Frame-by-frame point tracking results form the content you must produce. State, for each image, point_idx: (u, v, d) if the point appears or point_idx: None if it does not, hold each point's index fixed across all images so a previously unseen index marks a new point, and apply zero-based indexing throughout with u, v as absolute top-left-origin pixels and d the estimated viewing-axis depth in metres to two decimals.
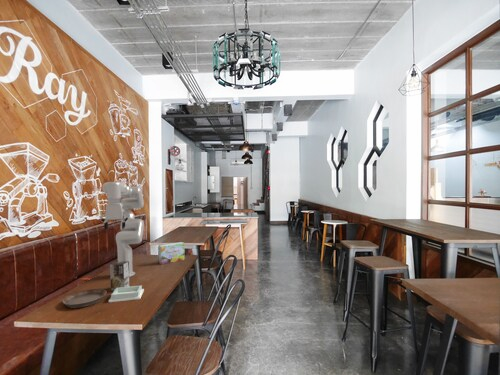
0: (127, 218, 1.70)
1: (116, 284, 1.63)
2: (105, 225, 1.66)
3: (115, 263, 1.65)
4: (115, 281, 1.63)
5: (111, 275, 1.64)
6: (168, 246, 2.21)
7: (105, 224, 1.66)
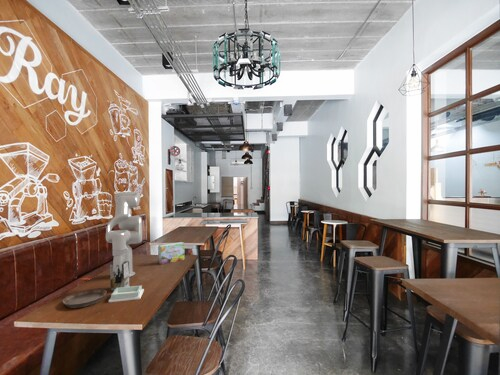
0: None
1: (116, 284, 1.63)
2: None
3: None
4: None
5: (111, 275, 1.64)
6: (168, 246, 2.21)
7: (120, 277, 1.63)
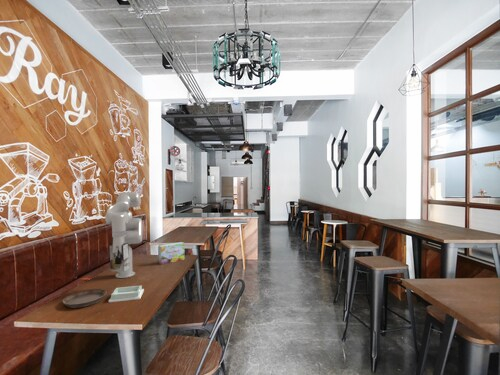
0: None
1: (116, 265, 1.64)
2: (120, 259, 1.63)
3: None
4: None
5: (111, 256, 1.64)
6: (168, 246, 2.21)
7: (120, 258, 1.63)
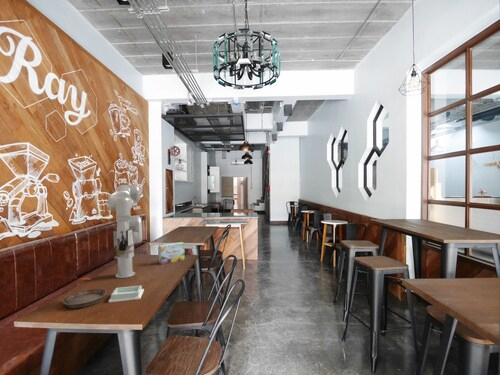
0: None
1: (120, 251, 1.54)
2: None
3: None
4: None
5: (115, 242, 1.55)
6: (168, 246, 2.21)
7: None
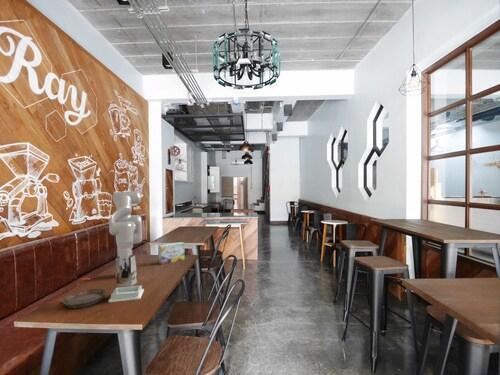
0: None
1: (123, 279, 1.51)
2: None
3: None
4: None
5: (117, 269, 1.51)
6: (168, 246, 2.21)
7: (127, 272, 1.50)
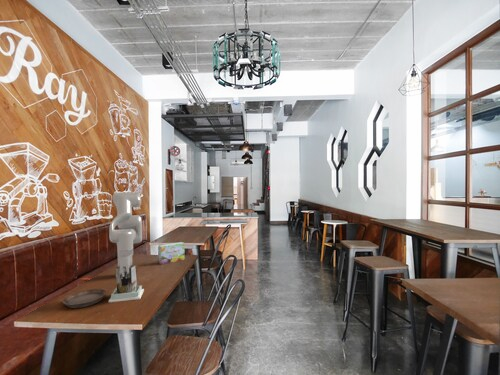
0: None
1: (123, 289, 1.51)
2: (127, 280, 1.50)
3: None
4: (122, 286, 1.51)
5: (117, 280, 1.52)
6: (168, 246, 2.21)
7: (127, 279, 1.50)
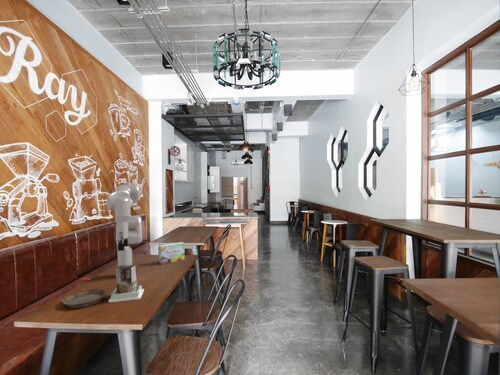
0: None
1: (123, 289, 1.51)
2: (124, 245, 1.52)
3: (122, 267, 1.53)
4: (122, 286, 1.51)
5: (117, 280, 1.52)
6: (168, 246, 2.21)
7: (123, 244, 1.52)
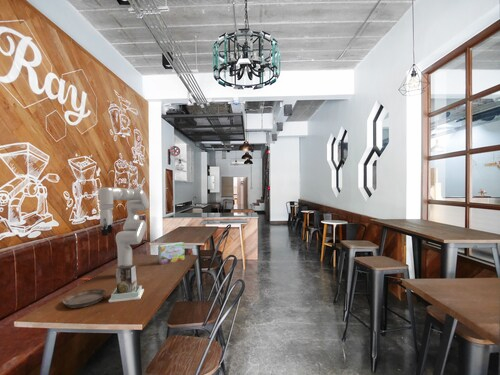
0: None
1: (123, 289, 1.51)
2: (107, 231, 1.65)
3: (122, 267, 1.53)
4: (122, 286, 1.51)
5: (117, 280, 1.52)
6: (168, 246, 2.21)
7: (107, 230, 1.65)
